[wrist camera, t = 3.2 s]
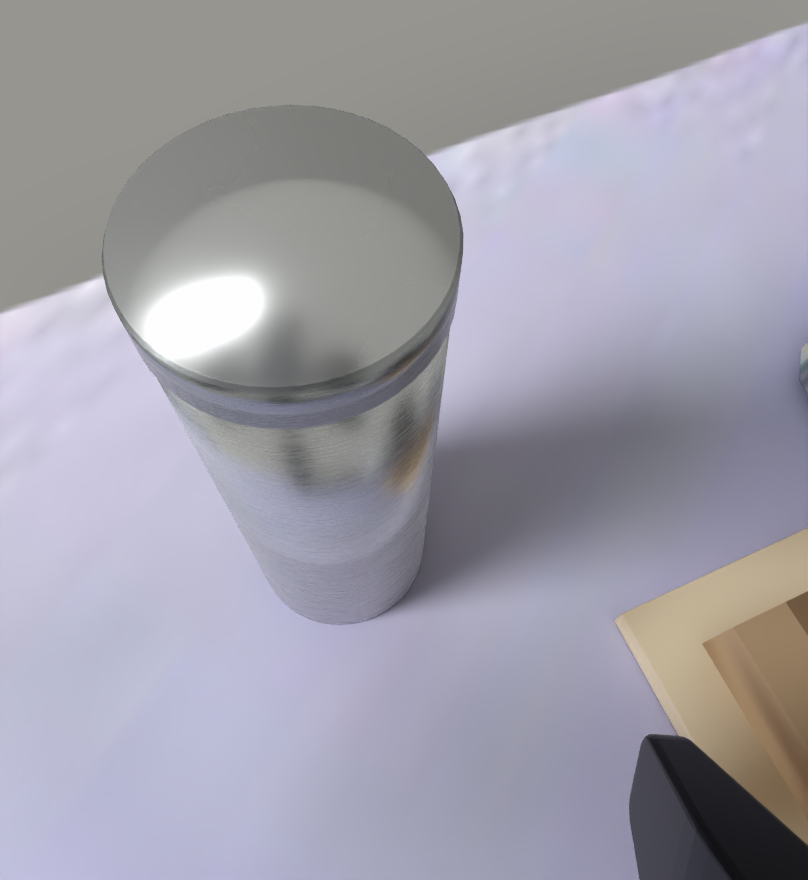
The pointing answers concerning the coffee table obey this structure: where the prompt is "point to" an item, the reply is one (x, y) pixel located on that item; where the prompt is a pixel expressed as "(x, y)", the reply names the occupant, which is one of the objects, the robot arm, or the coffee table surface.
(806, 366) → the octagon-capped white rod
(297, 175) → the metal canister
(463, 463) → the coffee table surface
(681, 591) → the jig
